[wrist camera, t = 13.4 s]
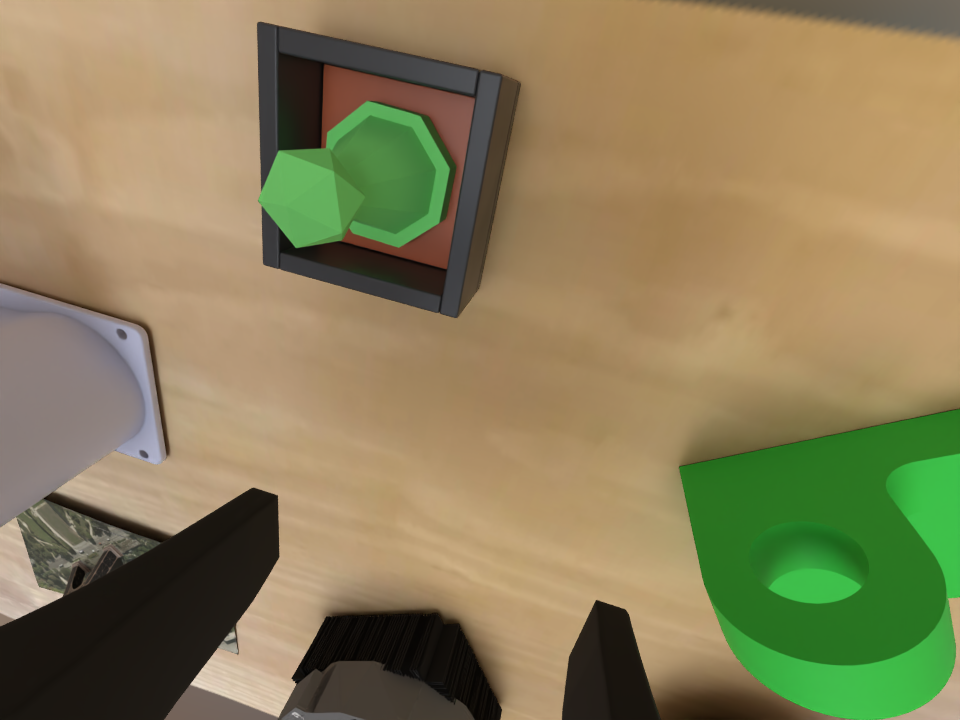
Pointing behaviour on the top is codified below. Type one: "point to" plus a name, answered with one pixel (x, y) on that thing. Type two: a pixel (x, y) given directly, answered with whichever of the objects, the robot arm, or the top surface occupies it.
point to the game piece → (363, 180)
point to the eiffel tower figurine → (80, 550)
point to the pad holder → (408, 85)
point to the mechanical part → (837, 563)
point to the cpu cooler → (390, 672)
